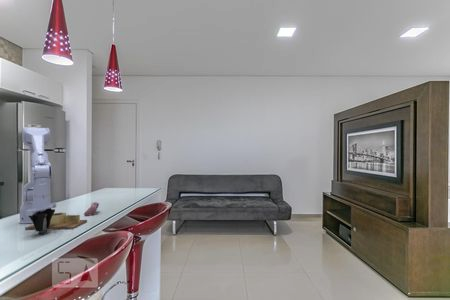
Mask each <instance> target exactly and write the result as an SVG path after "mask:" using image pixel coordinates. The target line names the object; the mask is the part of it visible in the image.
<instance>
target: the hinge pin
mask: <svg viewBox="0 0 450 300" xmlns="http://www.w3.org/2000/svg"><path fill="white" fill-rule="evenodd" d="M47 232H48V230H47V214H46V215H45V218H44V222H43V230H42V231H37V235H38V236H43V235H46V234H47Z"/></svg>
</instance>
